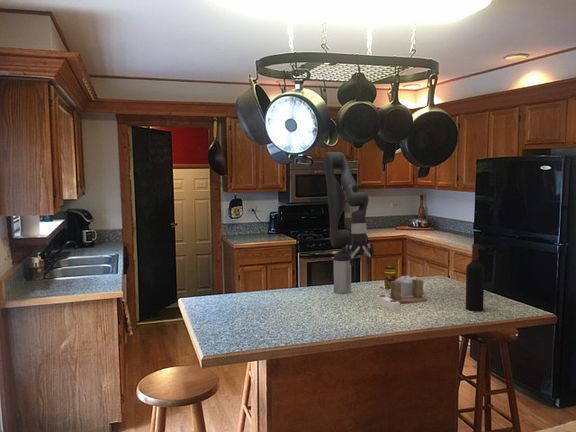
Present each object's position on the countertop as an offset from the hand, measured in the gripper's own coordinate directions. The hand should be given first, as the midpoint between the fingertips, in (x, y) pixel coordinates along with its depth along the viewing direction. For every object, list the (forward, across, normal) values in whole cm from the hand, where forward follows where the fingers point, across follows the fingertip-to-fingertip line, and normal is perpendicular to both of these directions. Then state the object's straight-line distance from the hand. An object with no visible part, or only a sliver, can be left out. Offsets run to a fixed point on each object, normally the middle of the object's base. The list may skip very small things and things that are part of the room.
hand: (360, 265), depth 239 cm
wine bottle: (+20, -42, +31) cm, 56 cm away
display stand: (+18, -21, +7) cm, 29 cm away
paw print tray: (+17, -29, -6) cm, 34 cm away
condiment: (+16, -25, -19) cm, 35 cm away
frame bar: (+19, -7, +14) cm, 25 cm away
